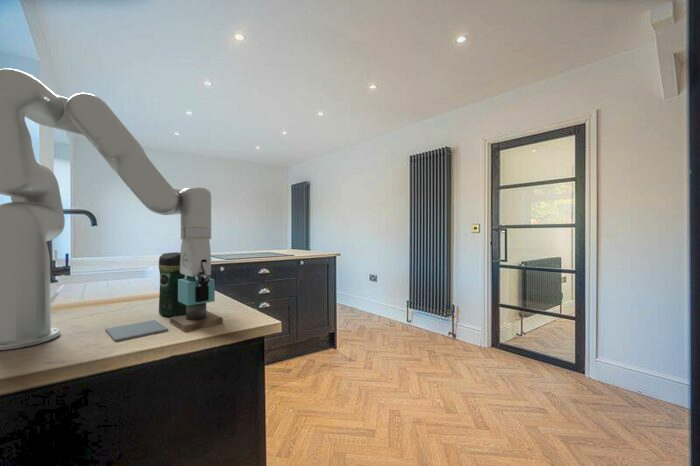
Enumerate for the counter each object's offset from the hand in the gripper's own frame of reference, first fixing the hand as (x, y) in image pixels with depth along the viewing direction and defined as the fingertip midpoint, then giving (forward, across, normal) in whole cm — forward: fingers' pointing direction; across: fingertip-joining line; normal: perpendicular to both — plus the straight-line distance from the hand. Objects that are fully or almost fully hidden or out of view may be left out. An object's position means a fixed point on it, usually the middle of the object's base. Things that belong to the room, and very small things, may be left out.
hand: (196, 298), depth 87 cm
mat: (+7, -4, -13) cm, 15 cm away
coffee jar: (+7, -14, 0) cm, 16 cm away
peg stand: (+7, 0, 0) cm, 7 cm away
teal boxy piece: (+1, 0, 0) cm, 1 cm away
